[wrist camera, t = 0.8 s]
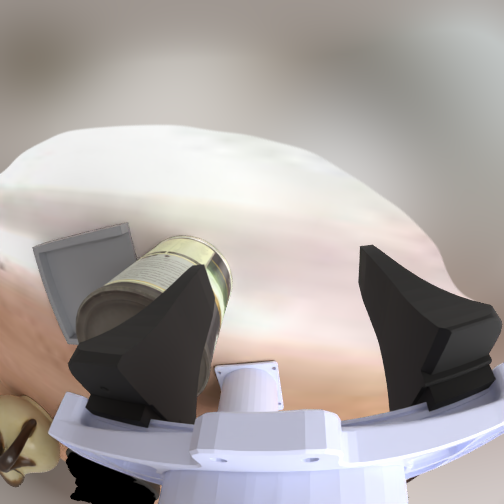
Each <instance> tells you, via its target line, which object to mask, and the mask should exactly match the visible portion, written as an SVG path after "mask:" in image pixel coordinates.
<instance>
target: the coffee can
mask: <svg viewBox="0 0 504 504" xmlns="http://www.w3.org/2000/svg"><path fill="white" fill-rule="evenodd" d="M201 264H204V265H205V268H206V271H207V274H208V277H209V281H210V284H211V287H212V290H213V293H214V296H215V304H214V312H213V317H212V321H211V325H210V329H209V332H208V336H207V340H206V343H205V347H204V351H203V355H202V359H201V365H200V373H199V381H198V391H197V396H198V395H199V394H201V393H202V391H203V390H204V388H205V387H206V385H207V382H208V379H209V375H210V369H211V362H212V357H213V354H214V350H215V347H216V343H217V339H218V336H219V332H220V328H221V324H222V321H223V317H224V313H225V310H226V307H227V303H228V300H229V298H230V295H231V291H232V275H231V271H230V268H229V266H228V264H227V262H226V260H225V259H224V257H223V256H222V254H221V253H220V252H219V251H218V250H217V249H216V248H215V247H214V246H212V245H211V244H209V243H208V242H206V241H204V240H202V239H199V238H196V237H191V236H176V237H171V238H169V239H166V240H164V241H162V242H161V243H160V244H158V245H157V246H156V247H155V248H154V249H152V250H151V251H150V252H148V253H147V254H146V255H144V256H143V257H141V258H140V259H139V260H137V261H136V262H135V263H133V264H132V265H131V266H129V267H128V268H127V269H125V270H124V271H123V272H121V273H120V274H119V275H117V276H116V277H115V278H113V279H112V280H111V281H109V282H108V283H107V284H105V285H104V286H102V287H100V288H98V289H96V290H95V291H93V292H92V293H90V294H89V295H88V296H87V297H86V298H85V299H84V300H83V302H82V303H81V305H80V306H79V309H78V311H77V316H76V335H77V339H78V343H80V342H83V341H86V340H88V339H91V338H93V337H96V336H98V335H100V334H103V333H105V332H107V331H109V330H111V329H113V328H114V327H116V326H118V325H120V324H121V323H123V322H125V321H126V320H128V319H129V318H131V317H133V316H134V315H136V314H137V313H139V312H140V311H141V310H143V309H144V308H145V307H147V306H148V305H149V304H150V303H152V302H153V301H154V300H155V299H156V298H157V297H158V296H160V295H161V294H162V293H163V292H164V291H165V290H166V289H167V288H168V287H170V286H171V285H172V284H173V283H174V282H175V281H176V280H177V279H178V278H179V277H180V276H181V275H182V274H183V273H184V272H185V271H186V270H187V269H189V268H190V267H191V266H192V265H201Z"/></svg>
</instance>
